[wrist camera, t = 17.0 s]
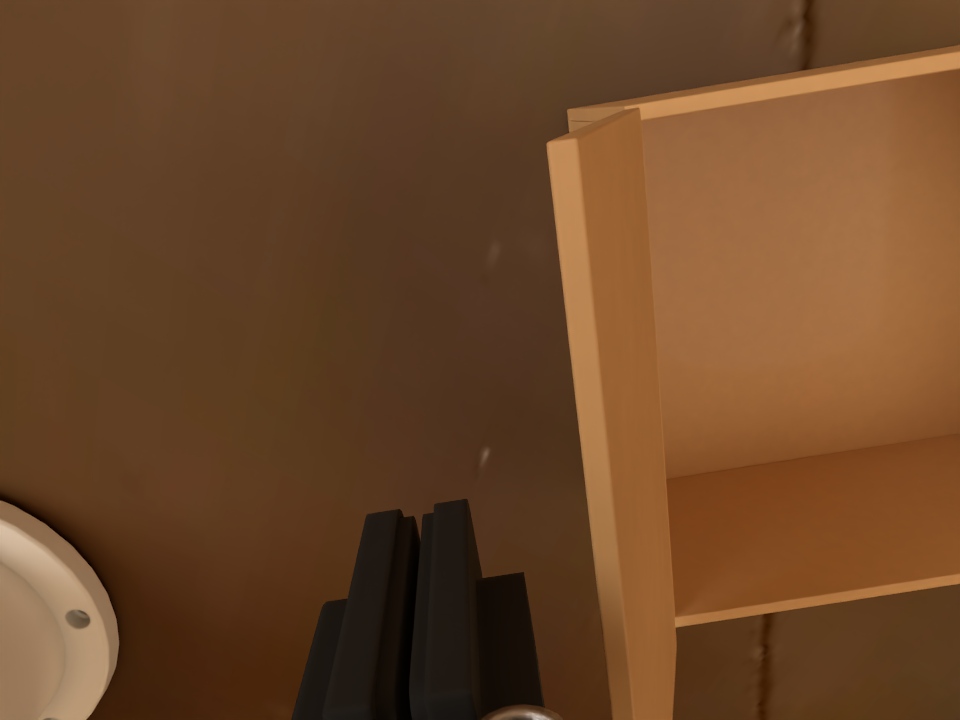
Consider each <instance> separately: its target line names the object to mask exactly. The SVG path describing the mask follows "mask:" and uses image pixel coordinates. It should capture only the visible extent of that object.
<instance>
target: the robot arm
mask: <svg viewBox="0 0 960 720" xmlns="http://www.w3.org/2000/svg"><path fill="white" fill-rule="evenodd" d="M118 649H119V636H118V628H117V619H116V616H115V613H114V610H113V608H112V605H111V602H110V599H109V596H108V594H107V592H106V590H105V589H104V587H103V585H102V584H101V582H100V580H99V579H98V577H97V575H96V574H95V572H94V571H93V569H92V568H91V567H90V565H89V564H88V563H87V562H86V561H85V560H84V559H83V558H82V556H81V555H80V554H79V553H78V552H77V551H76V550H75V549H74V547H73V546H72V545H71V544H69V543H68V542H67V541H66V540H65V539H63V538H62V537H61V536H60V535H58V534H57V533H56V532H55V531H53V530H52V529H51V528H50V527H48V526H47V525H46V524H45V523H43V522H41V521H39V520H38V519H36V518H34V517H33V516H31V515H29V514H27V513H26V512H24V511H22V510H21V509H19V508H17V507H16V506H14V505H11V504H9V503H6V502H4V501H1V500H0V720H86V719H87V718H88V717H89V716H90V715H91V714H92V712H93V710H94V709H95V707H96V706H97V704H98V702H99V701H100V699H101V698H102V696H103V694H104V693H105V691H106V689H107V688H108V685H109V683H110V680H111V678H112V676H113V673H114V671H115V668H116V664H117V657H118ZM292 720H564V719H563V718H561V717H560V716H559V715H558V714H557V713H555V712H552V711H550V710H548V709H545V706H544V700H543V693H542V686H541V679H540V673H539V666H538V659H537V653H536V646H535V640H534V633H533V627H532V621H531V614H530V608H529V602H528V596H527V589H526V583H525V577H524V572H521V573H514V574H508V575H501V576H495V577H488V578H482V572H481V567H480V561H479V556H478V551H477V545H476V540H475V535H474V529H473V524H472V519H471V513H470V508H469V503H468V500H467V499H463V500H457V501H450V502H443V503H437V504H435V505H434V513H430V514H424V515H423V519H422V531H421V542H420V537H419V533H418V528H417V524H416V520H415V517H414V516H410V517H403V514H402V511H401V510H400V509H398V510H391V511H385V512H378V513H372V514H368V515H367V516H366V519H365V523H364V528H363V532H362V537H361V541H360V546H359V550H358V555H357V559H356V564H355V568H354V573H353V577H352V582H351V586H350V591H349V595H348V599H342V600H335V601H328V602H326V603H325V604H324V605H323V607H322V610H321V613H320V616H319V620H318V624H317V627H316V631H315V635H314V638H313V642H312V646H311V649H310V653H309V657H308V661H307V664H306V668H305V672H304V675H303V679H302V683H301V686H300V690H299V694H298V698H297V701H296V705H295V709H294V712H293V716H292Z"/></svg>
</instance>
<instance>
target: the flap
mask: <svg viewBox="0 0 960 720" xmlns="http://www.w3.org/2000/svg"><path fill="white" fill-rule="evenodd" d="M547 155H548V163H549V172H550V181H551V190H552V198H553V207H554V216H555V224H556V233H557V242H558V251H559V259H560V268H561V277H562V285H563V294H564V303H565V312H566V320H567V329H568V338H569V347H570V355H571V364H572V373H573V381H574V390H575V399H576V408H577V416H578V425H579V434H580V442H581V451H582V460H583V469H584V477H585V486H586V495H587V503H588V512H589V521H590V530H591V538H592V547H593V556H594V565H595V573H596V582H597V591H598V599H599V608H600V617H601V626H602V634H603V643H604V652H605V660H606V669H607V678H608V687H609V695H610V704H611V713H612V720H672V718H673V701H674V684H675V667H676V649H677V644H676V629H675V615H674V600H673V585H672V570H671V556H670V541H669V526H668V512H667V497H666V482H665V468H664V453H663V438H662V424H661V409H660V394H659V380H658V365H657V350H656V336H655V321H654V306H653V292H652V277H651V262H650V247H649V233H648V218H647V203H646V189H645V174H644V159H643V145H642V130H641V115H640V108H631V109H625V110H622V111H620V112H617V113H615V114H613V115H610V116H608V117H605V118H603V119H601V120H598V121H596V122H594V123H591V124H589V125H587V126H584V127H582V128H580V129H577V130H575V131H572V132H570V133H568V134H565V135H563V136H561V137H558V138H556V139H554V140H551V141H549V142H548V143H547Z"/></svg>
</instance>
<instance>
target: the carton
mask: <svg viewBox="0 0 960 720" xmlns="http://www.w3.org/2000/svg"><path fill="white" fill-rule="evenodd" d="M631 108H640V115H641V130H642V145H643V159H644V174H645V189H646V203H647V218H648V233H649V247H650V262H651V277H652V292H653V306H654V321H655V336H656V350H657V365H658V380H659V394H660V409H661V424H662V438H663V453H664V468H665V482H666V497H667V512H668V526H669V541H670V556H671V570H672V585H673V600H674V615H675V627H681V626H688V625H694V624H701V623H707V622H714V621H720V620H727V619H733V618H740V617H746V616H753V615H759V614H766V613H772V612H779V611H785V610H792V609H798V608H805V607H811V606H818V605H824V604H831V603H837V602H844V601H850V600H857V599H863V598H870V597H876V596H883V595H889V594H896V593H902V592H909V591H915V590H922V589H928V588H935V587H941V586H948V585H954V584H960V45H957V46H951V47H945V48H938V49H932V50H926V51H920V52H914V53H908V54H902V55H896V56H890V57H883V58H877V59H871V60H865V61H859V62H853V63H847V64H841V65H835V66H828V67H822V68H816V69H810V70H804V71H798V72H792V73H786V74H780V75H773V76H767V77H761V78H755V79H749V80H743V81H737V82H731V83H725V84H718V85H712V86H706V87H700V88H694V89H688V90H682V91H676V92H670V93H663V94H657V95H651V96H645V97H639V98H633V99H627V100H621V101H615V102H609V103H602V104H596V105H590V106H584V107H578V108H572V109H568V110H567V115H568V125H569V133H570V132H572V131H575V130H577V129H580V128H582V127H584V126H587V125H589V124H591V123H594V122H596V121H598V120H601V119H603V118H605V117H608V116H610V115H613V114H615V113H617V112H620V111H622V110H625V109H631Z"/></svg>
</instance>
